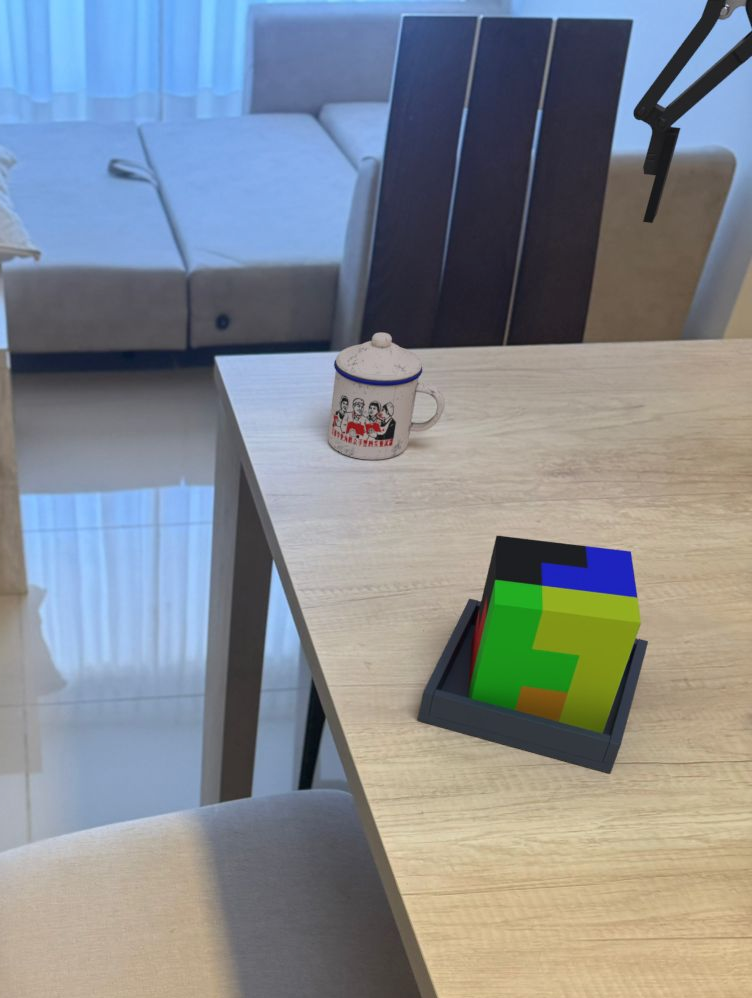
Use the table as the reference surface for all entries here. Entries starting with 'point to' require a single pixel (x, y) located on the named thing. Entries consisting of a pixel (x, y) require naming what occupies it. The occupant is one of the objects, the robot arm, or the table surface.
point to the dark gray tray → (517, 729)
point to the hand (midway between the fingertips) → (735, 229)
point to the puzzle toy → (554, 630)
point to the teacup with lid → (377, 399)
